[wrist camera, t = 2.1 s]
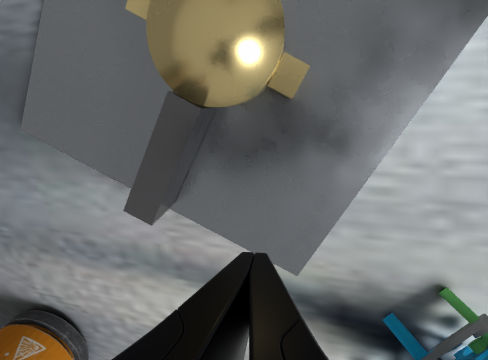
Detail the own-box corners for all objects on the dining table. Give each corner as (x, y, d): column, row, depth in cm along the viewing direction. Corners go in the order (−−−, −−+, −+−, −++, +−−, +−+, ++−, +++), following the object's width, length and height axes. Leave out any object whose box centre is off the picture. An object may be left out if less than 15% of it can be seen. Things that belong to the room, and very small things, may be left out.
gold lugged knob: (183, -92, 14) (154, -148, 11) (345, -3, 14) (364, -32, 11) (102, 167, 19) (67, 180, 16) (219, 230, 19) (207, 255, 16)
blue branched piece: (403, 415, 21) (393, 481, 14) (352, 343, 25) (321, 364, 17) (519, 339, 20) (583, 367, 12) (445, 273, 23) (458, 262, 16)
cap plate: (118, -312, 12) (47, -492, 9) (542, -75, 13) (652, -149, 9) (32, 128, 20) (-25, 134, 16) (296, 267, 21) (299, 305, 17)
